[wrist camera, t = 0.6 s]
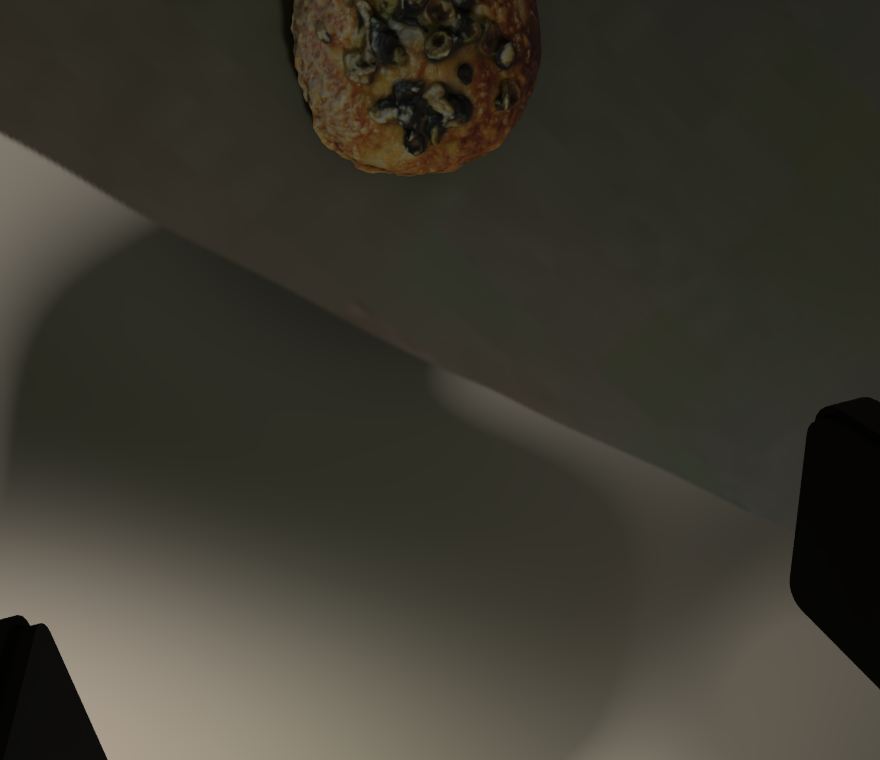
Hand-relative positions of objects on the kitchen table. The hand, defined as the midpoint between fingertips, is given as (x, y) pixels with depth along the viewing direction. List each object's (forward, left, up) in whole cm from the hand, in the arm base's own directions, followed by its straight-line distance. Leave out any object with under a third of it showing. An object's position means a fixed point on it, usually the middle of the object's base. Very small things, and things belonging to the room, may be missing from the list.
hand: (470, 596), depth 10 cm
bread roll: (-8, +1, -29) cm, 31 cm away
